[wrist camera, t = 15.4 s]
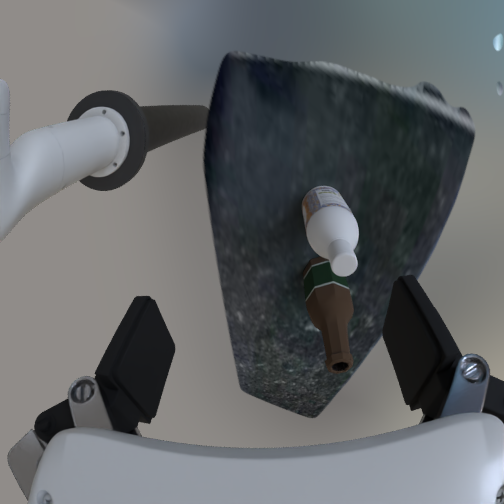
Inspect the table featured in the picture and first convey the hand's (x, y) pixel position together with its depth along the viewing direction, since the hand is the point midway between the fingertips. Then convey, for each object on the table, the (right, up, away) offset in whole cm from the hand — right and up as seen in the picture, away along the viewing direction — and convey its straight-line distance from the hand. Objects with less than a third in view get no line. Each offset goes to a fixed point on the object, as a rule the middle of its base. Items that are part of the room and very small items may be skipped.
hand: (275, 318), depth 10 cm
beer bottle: (+13, 0, +41) cm, 43 cm away
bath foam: (+11, +11, +35) cm, 38 cm away
